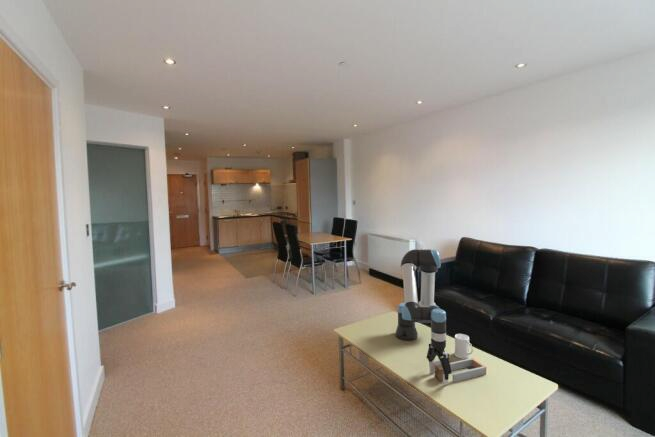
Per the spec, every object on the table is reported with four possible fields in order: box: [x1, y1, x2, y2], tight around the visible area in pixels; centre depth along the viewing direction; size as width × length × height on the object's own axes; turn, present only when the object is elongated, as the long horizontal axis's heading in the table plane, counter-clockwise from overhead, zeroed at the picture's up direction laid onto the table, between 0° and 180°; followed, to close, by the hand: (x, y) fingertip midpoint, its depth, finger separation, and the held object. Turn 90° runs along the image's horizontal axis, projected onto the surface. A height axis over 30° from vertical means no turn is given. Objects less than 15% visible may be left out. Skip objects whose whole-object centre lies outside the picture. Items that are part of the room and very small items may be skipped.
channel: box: [450, 357, 487, 383], centre depth 175 cm, size 10×21×4 cm, turn 108°
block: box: [434, 364, 444, 383], centre depth 170 cm, size 5×5×7 cm
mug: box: [454, 333, 474, 360], centre depth 192 cm, size 12×8×12 cm
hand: (438, 378), depth 170 cm, fingers open, 11 cm apart
